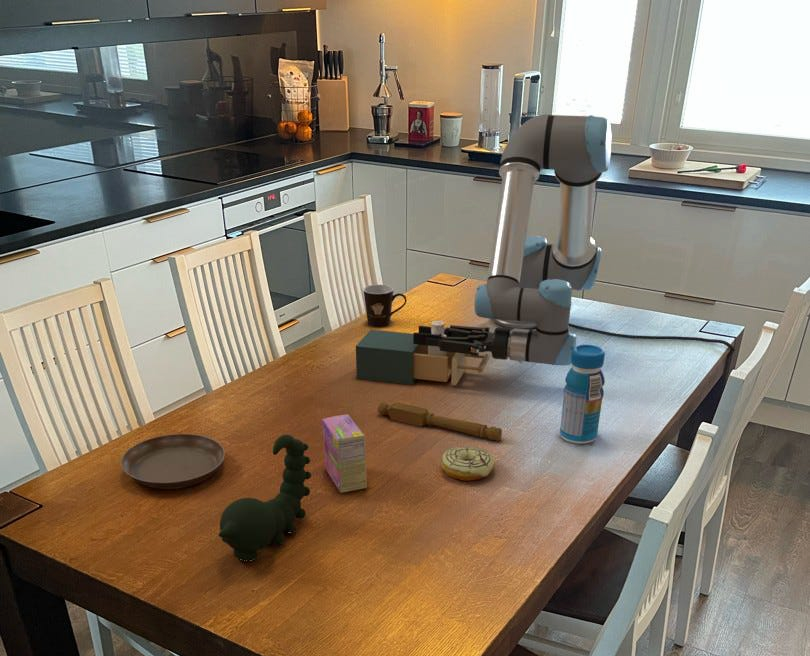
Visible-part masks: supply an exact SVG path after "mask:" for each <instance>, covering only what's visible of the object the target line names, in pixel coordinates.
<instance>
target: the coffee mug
mask: <svg viewBox="0 0 810 656" xmlns="http://www.w3.org/2000/svg"><path fill="white" fill-rule="evenodd" d="M362 290H363V299H364V304H365V312H366V313H365V314H366V318H367V325H368V326H369V327H373V328H384V327H388V326H389V325H390V324H391V317H392V315H393V314H395V313H397V312H399V311H400V310H401V309H402V308H404V307H405V305H406V304H407V296H406V295H405V294H403V293H395V294H394V287H393V286H390V285H387V284H370V285H366V286H364V287H363V289H362ZM399 296H400V297H402V298H403V299H404V302H403V303H402V305H400V306H399V307H398V308H396V309H394V310H393V311H392V308H393V302H394V300H395V299H396V298H397V297H399Z"/></svg>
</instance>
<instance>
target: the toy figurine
mask: <svg viewBox="0 0 810 656" xmlns="http://www.w3.org/2000/svg"><path fill="white" fill-rule="evenodd" d="M282 449H285V453H286V454H285V456H284V458H283V462H284V467H285V468H284V469H283V470H282V480H283V481H282V482H281V483H280V486H279V493H278V494H276V495H275V497H274V498H270V499H269V500H267V501H263V500H260V499H257V498H254V497H243V498H239V499H236V500H234V501H232V502H231V503H229V504H228V505H227V506H226V507H225V509H224V510H223V512H222V513H221V517H220V520H219V533H218V537H220V538H221V541H222V542H223V543H225V544H226V545H228V547H230V548H232V549H233V555H234V558H236V557H237V558H238V559H237V558H236V559H237V560H239V561H241V562H243V563H252V562H254V561H255V560H256V559H257V557H258V552H259V551H261V550H263V549H264V548H265V547H267V546H269V544H270V543H271V544H272V545H275V544H276V545H275V546H280V545H282V544H283V543H284V541H285V540H286V537H285V533H286V534H287V535H288V536H293V535H294V534H296V531H297V526H296V525H295V524H294V522H295V518H296V519H298V520H302V519H304V518H305V517H306V515H307V513H306V510H305V509H304V508H302V502H301V500H302V499H304V497H308V496H310V494H311V489H310V488H309V487H308V486H305V484H304V483H305V481H306V480H310V479H311V478H312V473H311V472H310V471H309V470H305V469H304V468H305V467H306V465H308V464H310V463H311V458H310V457H309V456H305V452H306V451H307V450H308V449H309V445H308V443H304V442H303V441H302V440H301V439H298V438H294V436H293V435H291V434H282V435H280V436H279V437H277V438H276V440H275V441H274V444H273V448H272V454H273V455H274V456H277V455H278V453H279V452H280V451H281V450H282ZM284 532H285V533H284ZM288 532H291V533H288ZM281 543H282V544H281ZM255 558H256V559H255ZM240 559H242V560H240ZM253 559H254V560H253ZM244 560H245V561H244ZM246 560H247V561H246ZM250 560H252V561H250Z"/></svg>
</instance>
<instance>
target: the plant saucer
mask: <svg viewBox="0 0 810 656" xmlns="http://www.w3.org/2000/svg"><path fill="white" fill-rule="evenodd" d="M225 457H226V453H225V449H224V446H223V445H221V443H219V442H218V441H217V440H216V439H213V438H210V437H208V436H205V435H201V434H200V435H199V434H193V433H171V434H165V435H159V436H155V437H151V438H148V439H145V440H143V441H140V442H138V443H136V444H135V445H133V446H131V447H130V448H128V449H127V450H126V451H125V452H124V454H122V457H121V459H120V467H121V469H122V471H123V472H124V473H125V474H126V475H127V476H128V477H129V478H130V479H132V480H133V481H134V482H136V483H138V484H141V485H142V486H146V487H149V488H151V489H152V488H153V489H158V490H177V489H182V488H188V487H192V486H194V485H197V484H199V483H202V482H204V481H205V480H207V479H209V478H210V477H212V475H214V474H215V472H217V470H218V469H220V467H221V465H222V463H223V462H224V459H225Z"/></svg>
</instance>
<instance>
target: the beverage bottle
mask: <svg viewBox="0 0 810 656" xmlns="http://www.w3.org/2000/svg"><path fill="white" fill-rule="evenodd" d="M605 351H606V350H605V349H604V348H603V347H601V346H599V345H595V344H578V345H576V346H575V347H574V348H573V350H572V356H571V364H570V365H571V368H569V370H568V372H567V374H566V375H565V386H564V387H563V393H562V394H563V400H562V407H561V408H562V409H561V411H562V412H561V420H560V427H559V435H560V437H561V438H562V439H563V440H564V441H566V442H569V443H572V444H579V445H582V444H589V443H592V442H594V441H596V439H597V438H598V434H599V424H600V417H601V410H602V404H603V398H604V394H605V391H604V388H603V387H604V385H605V382H606V381H605V380H606V379H605V375H604V372H603V371H602V368H603V366H604V363H605V356H606V353H605Z"/></svg>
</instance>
